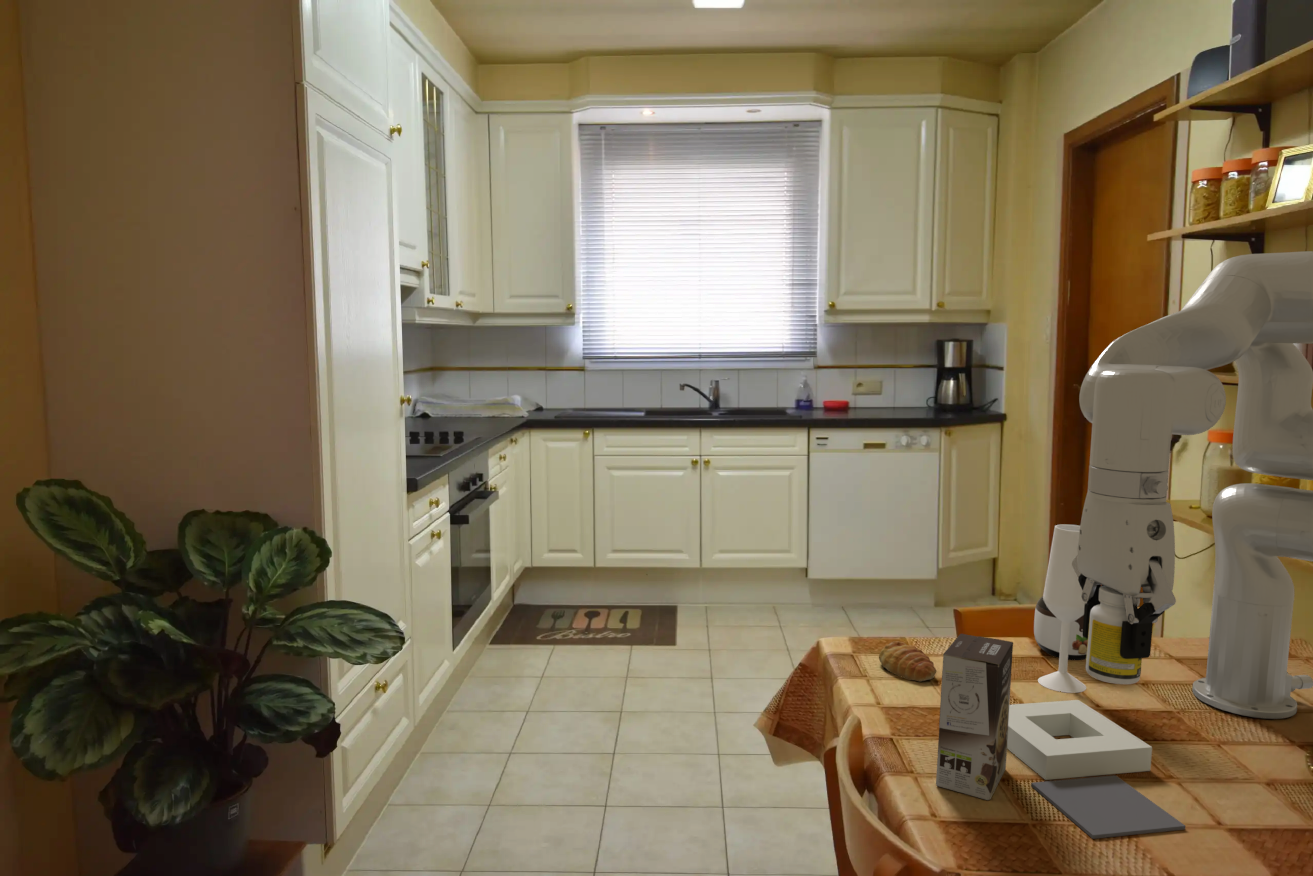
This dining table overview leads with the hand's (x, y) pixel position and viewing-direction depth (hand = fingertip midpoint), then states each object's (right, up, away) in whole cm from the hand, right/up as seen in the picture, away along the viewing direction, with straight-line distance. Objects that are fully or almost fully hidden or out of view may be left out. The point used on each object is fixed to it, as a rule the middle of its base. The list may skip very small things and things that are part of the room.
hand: (1115, 645), depth 98 cm
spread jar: (+19, -13, +51) cm, 56 cm away
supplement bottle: (0, -4, 0) cm, 4 cm away
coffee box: (-13, -18, +8) cm, 23 cm away
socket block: (+1, -17, +16) cm, 23 cm away
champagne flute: (+11, -14, +37) cm, 41 cm away
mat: (0, -18, +2) cm, 19 cm away
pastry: (-11, -14, +42) cm, 45 cm away
